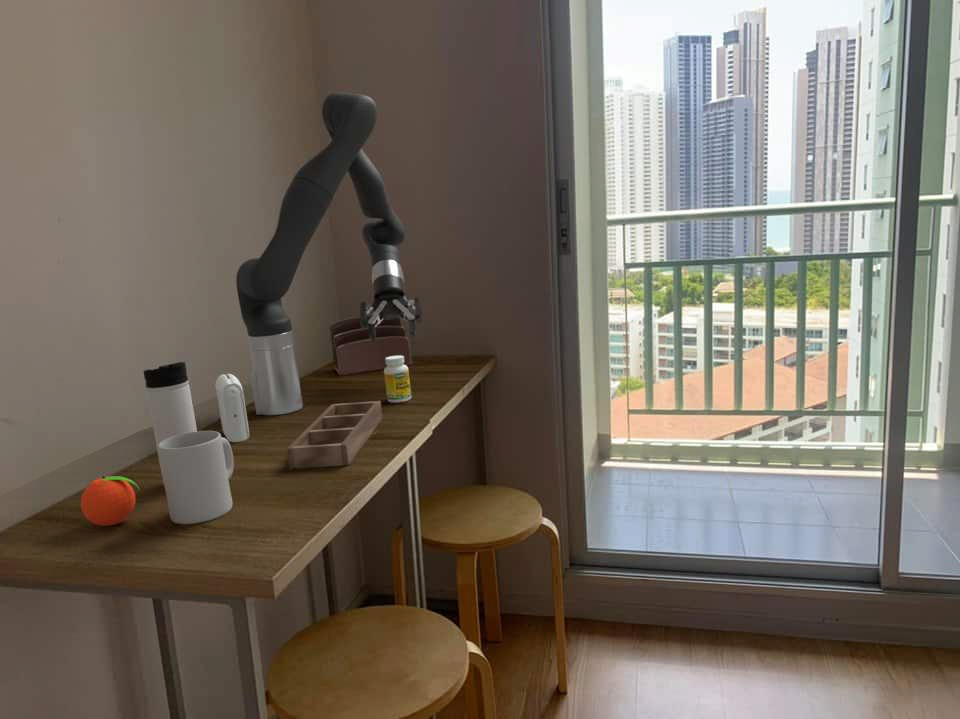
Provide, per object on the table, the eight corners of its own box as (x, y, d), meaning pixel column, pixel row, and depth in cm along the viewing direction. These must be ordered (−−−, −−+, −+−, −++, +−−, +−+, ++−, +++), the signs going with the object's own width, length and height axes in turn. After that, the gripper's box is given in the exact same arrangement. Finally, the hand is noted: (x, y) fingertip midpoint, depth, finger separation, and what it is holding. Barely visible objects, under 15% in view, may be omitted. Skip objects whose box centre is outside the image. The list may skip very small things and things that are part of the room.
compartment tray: (289, 468, 122) (286, 448, 121) (333, 421, 149) (331, 404, 148) (348, 465, 121) (346, 444, 120) (382, 417, 148) (380, 400, 148)
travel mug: (181, 493, 115) (159, 367, 111) (155, 487, 118) (133, 366, 114) (214, 479, 120) (194, 359, 116) (189, 474, 123) (168, 357, 120)
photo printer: (252, 439, 141) (242, 376, 139) (229, 444, 139) (218, 380, 137) (243, 427, 150) (233, 368, 148) (221, 432, 148) (211, 372, 146)
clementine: (153, 510, 109) (145, 464, 107) (138, 529, 102) (128, 480, 100) (97, 517, 108) (87, 471, 106) (77, 537, 101) (67, 488, 100)
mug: (206, 526, 101) (193, 449, 99) (157, 522, 104) (143, 448, 101) (259, 493, 112) (248, 423, 110) (213, 490, 115) (202, 423, 112)
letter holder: (334, 370, 203) (328, 319, 200) (405, 359, 208) (399, 310, 206) (339, 376, 194) (332, 323, 191) (412, 365, 199) (407, 314, 196)
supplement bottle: (401, 395, 166) (396, 353, 164) (416, 398, 162) (412, 355, 160) (382, 401, 162) (377, 358, 160) (397, 404, 158) (392, 360, 156)
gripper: (356, 276, 173) (359, 331, 164) (417, 270, 174) (423, 325, 165) (360, 296, 179) (363, 350, 170) (418, 290, 180) (425, 344, 171)
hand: (393, 338), depth 167 cm, fingers open, 8 cm apart
